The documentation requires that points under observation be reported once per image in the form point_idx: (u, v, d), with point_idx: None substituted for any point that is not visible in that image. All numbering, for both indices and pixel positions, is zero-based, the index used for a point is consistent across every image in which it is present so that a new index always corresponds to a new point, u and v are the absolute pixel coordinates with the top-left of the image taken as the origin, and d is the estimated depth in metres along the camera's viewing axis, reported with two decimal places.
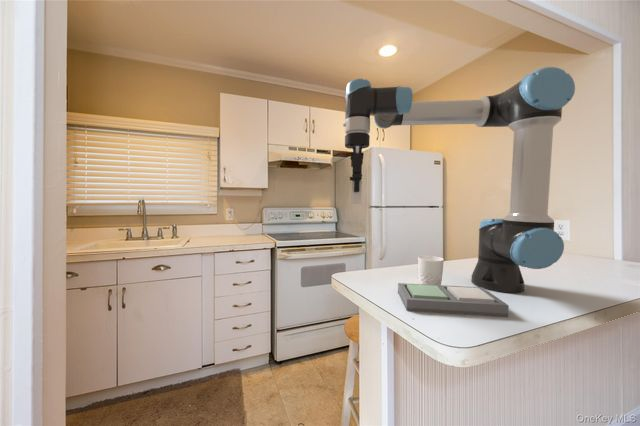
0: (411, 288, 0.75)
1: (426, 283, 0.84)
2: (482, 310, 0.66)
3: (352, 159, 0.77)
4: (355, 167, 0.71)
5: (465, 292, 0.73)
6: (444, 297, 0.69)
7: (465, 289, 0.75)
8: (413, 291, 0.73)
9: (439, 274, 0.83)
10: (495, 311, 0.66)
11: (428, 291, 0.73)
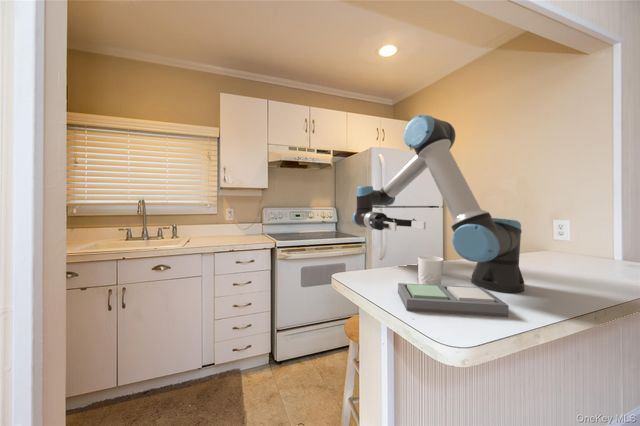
0: (411, 288, 0.75)
1: (426, 283, 0.84)
2: (482, 310, 0.66)
3: None
4: (373, 225, 1.00)
5: (465, 292, 0.73)
6: (444, 297, 0.69)
7: (465, 289, 0.75)
8: (413, 291, 0.73)
9: (439, 274, 0.83)
10: (495, 311, 0.66)
11: (428, 291, 0.73)
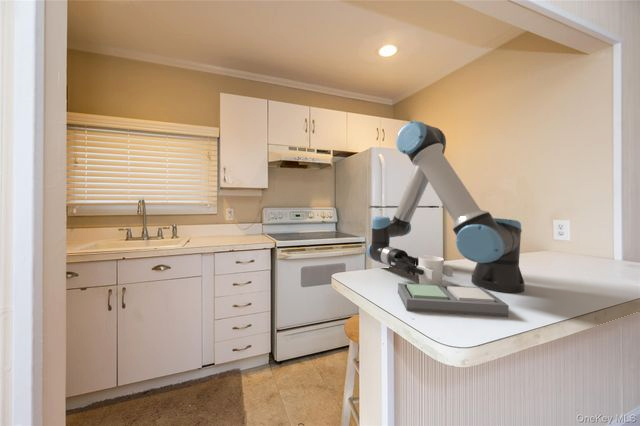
0: (411, 288, 0.75)
1: (426, 283, 0.84)
2: (482, 310, 0.66)
3: None
4: (402, 269, 0.88)
5: (465, 292, 0.73)
6: (444, 297, 0.69)
7: (465, 289, 0.75)
8: (413, 291, 0.73)
9: (439, 274, 0.83)
10: (495, 311, 0.66)
11: (428, 291, 0.73)
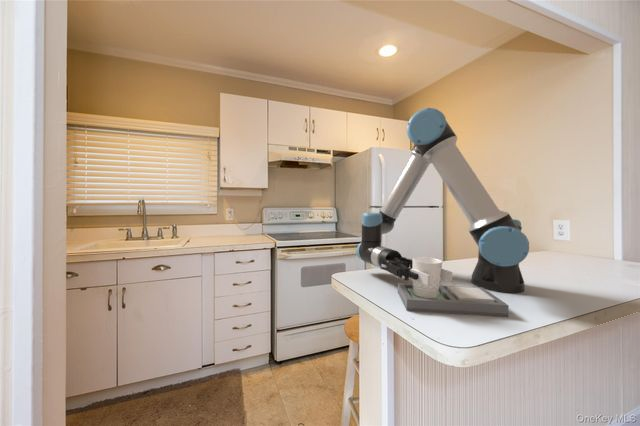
0: (411, 292, 0.75)
1: (421, 289, 0.71)
2: (482, 310, 0.66)
3: None
4: (394, 272, 0.76)
5: (465, 292, 0.73)
6: None
7: (465, 289, 0.75)
8: (413, 295, 0.73)
9: (436, 279, 0.71)
10: (495, 311, 0.66)
11: None
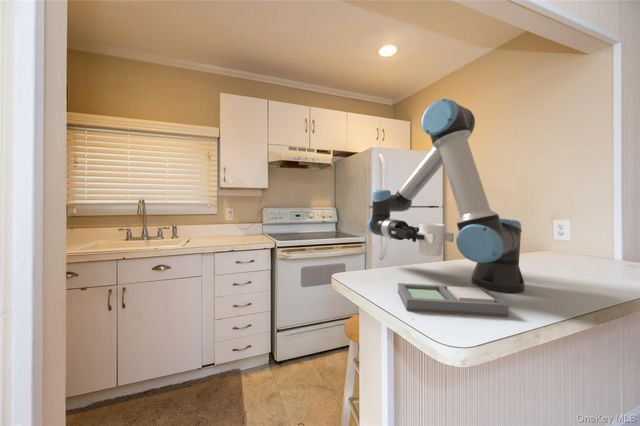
0: (411, 293, 0.75)
1: (427, 248, 0.83)
2: (482, 310, 0.66)
3: None
4: (403, 236, 0.88)
5: (465, 292, 0.73)
6: None
7: (465, 289, 0.75)
8: (413, 296, 0.73)
9: (440, 239, 0.82)
10: (495, 311, 0.66)
11: (428, 296, 0.73)
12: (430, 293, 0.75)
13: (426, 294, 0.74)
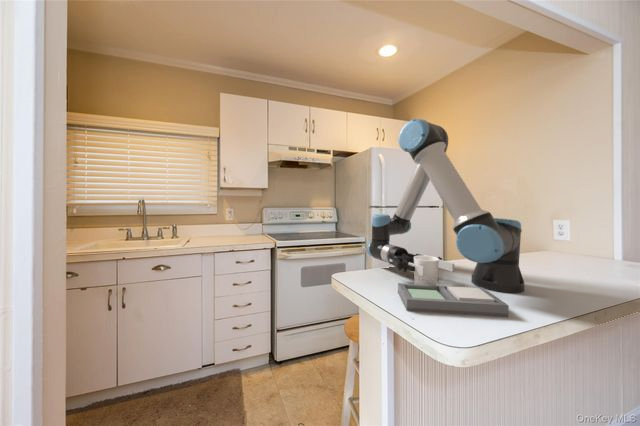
0: (411, 293, 0.75)
1: (421, 283, 0.84)
2: (482, 310, 0.66)
3: None
4: (396, 265, 0.89)
5: (465, 292, 0.73)
6: None
7: (465, 289, 0.75)
8: (413, 296, 0.73)
9: (434, 274, 0.83)
10: (495, 311, 0.66)
11: (428, 296, 0.73)
12: (430, 293, 0.75)
13: (426, 294, 0.74)
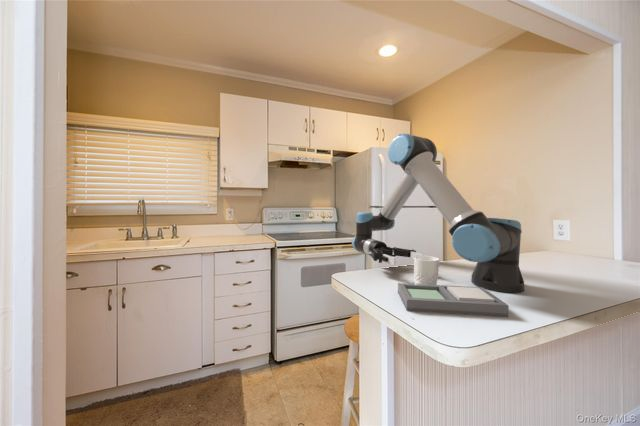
0: (411, 293, 0.75)
1: (421, 283, 0.84)
2: (482, 310, 0.66)
3: None
4: (373, 257, 1.01)
5: (465, 292, 0.73)
6: None
7: (465, 289, 0.75)
8: (413, 296, 0.73)
9: (434, 274, 0.83)
10: (495, 311, 0.66)
11: (428, 296, 0.73)
12: (430, 293, 0.75)
13: (426, 294, 0.74)
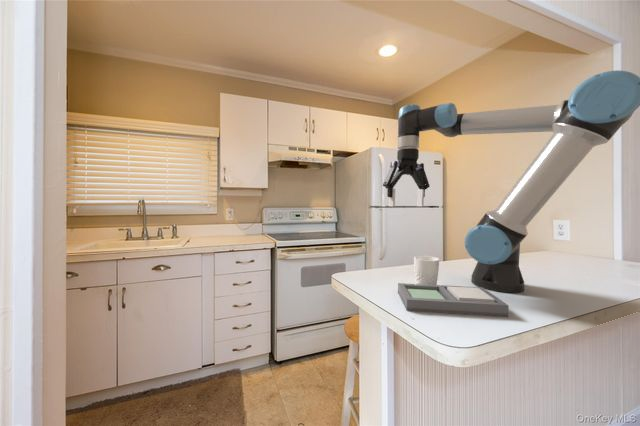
0: (411, 293, 0.75)
1: (421, 283, 0.84)
2: (482, 310, 0.66)
3: (397, 171, 0.97)
4: (386, 178, 0.94)
5: (465, 292, 0.73)
6: None
7: (465, 289, 0.75)
8: (413, 296, 0.73)
9: (434, 274, 0.83)
10: (495, 311, 0.66)
11: (428, 296, 0.73)
12: (430, 293, 0.75)
13: (426, 294, 0.74)
